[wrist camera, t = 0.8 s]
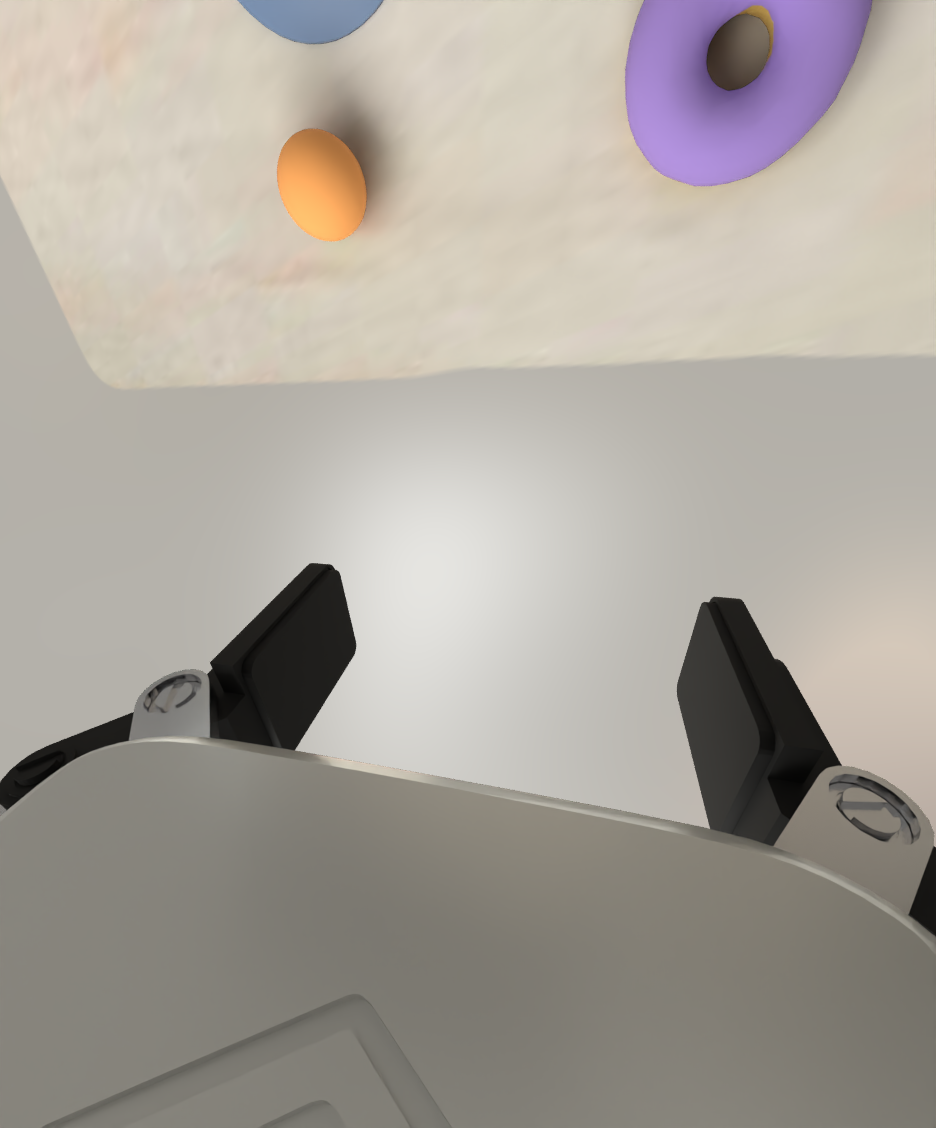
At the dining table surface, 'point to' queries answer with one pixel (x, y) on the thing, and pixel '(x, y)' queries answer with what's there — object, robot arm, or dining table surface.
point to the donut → (743, 116)
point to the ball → (321, 184)
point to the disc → (312, 17)
